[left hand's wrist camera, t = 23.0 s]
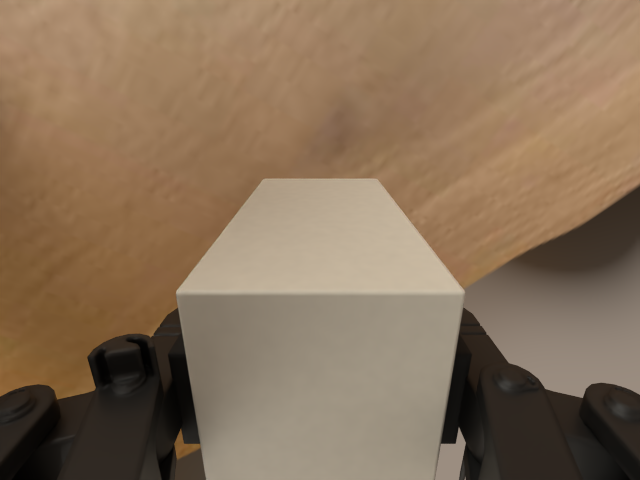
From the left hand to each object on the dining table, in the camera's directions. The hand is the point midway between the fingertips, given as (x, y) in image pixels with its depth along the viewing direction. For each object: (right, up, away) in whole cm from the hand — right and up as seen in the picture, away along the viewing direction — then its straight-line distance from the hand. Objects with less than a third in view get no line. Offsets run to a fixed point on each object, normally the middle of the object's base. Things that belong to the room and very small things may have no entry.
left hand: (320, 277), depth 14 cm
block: (0, +1, +3) cm, 3 cm away
